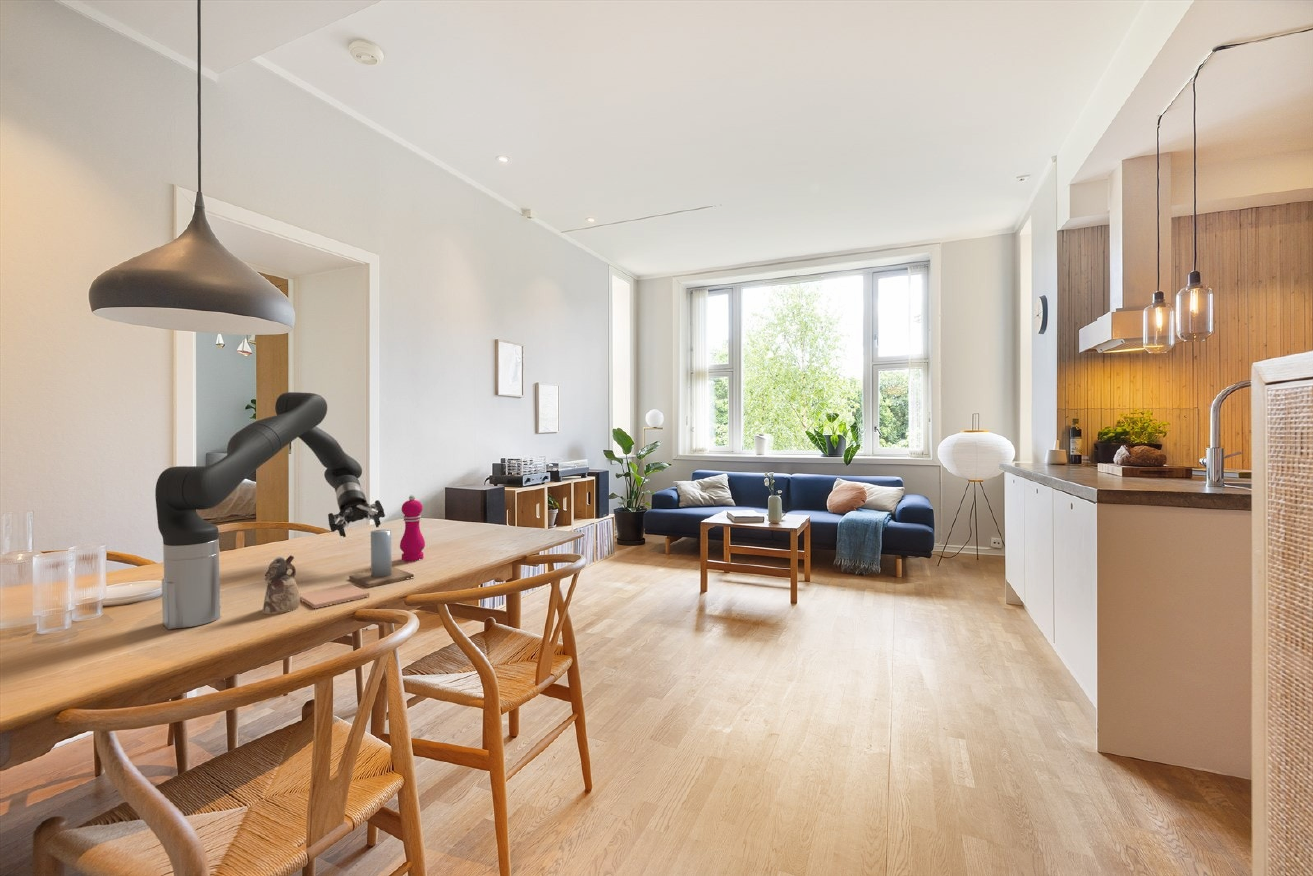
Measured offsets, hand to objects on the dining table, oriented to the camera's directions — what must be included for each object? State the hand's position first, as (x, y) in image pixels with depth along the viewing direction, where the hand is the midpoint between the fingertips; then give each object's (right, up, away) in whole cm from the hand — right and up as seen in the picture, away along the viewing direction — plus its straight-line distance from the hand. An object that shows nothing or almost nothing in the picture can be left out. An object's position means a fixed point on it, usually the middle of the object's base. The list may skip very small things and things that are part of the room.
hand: (360, 529), depth 160 cm
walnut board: (+8, -12, -5) cm, 16 cm away
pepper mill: (+7, -12, +17) cm, 22 cm away
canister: (+8, -11, -5) cm, 15 cm away
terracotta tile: (+5, -13, -22) cm, 26 cm away
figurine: (-2, -13, -30) cm, 33 cm away
